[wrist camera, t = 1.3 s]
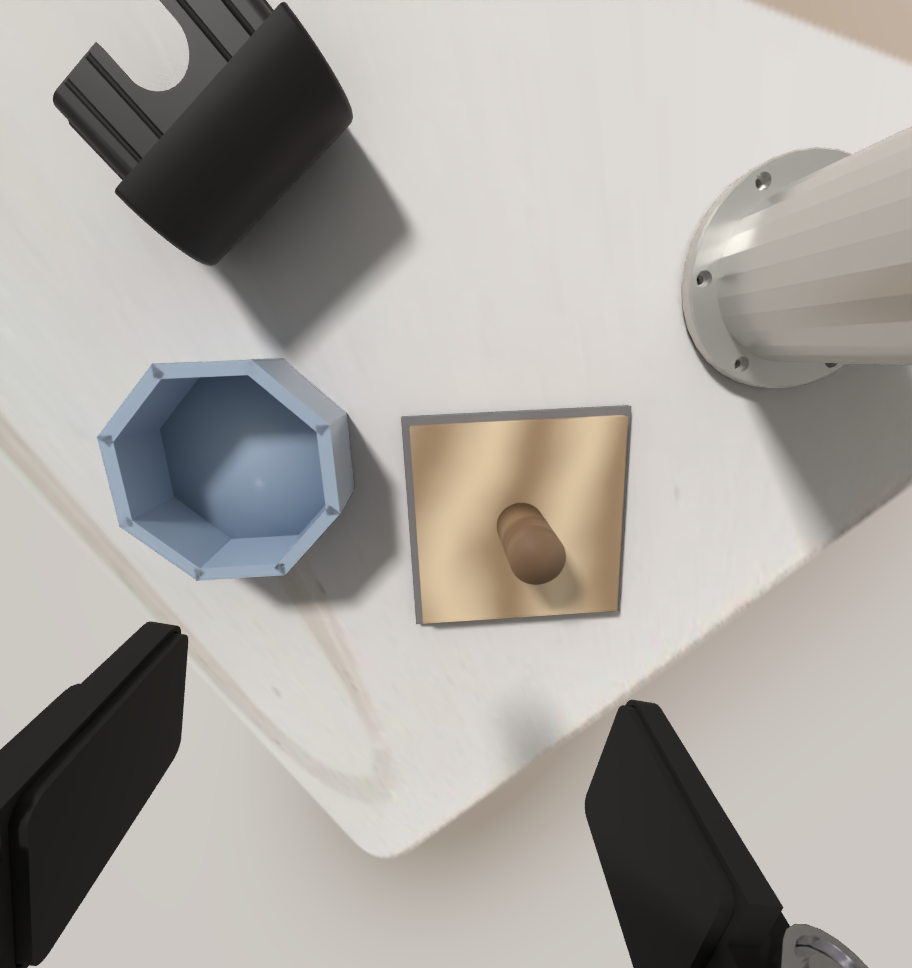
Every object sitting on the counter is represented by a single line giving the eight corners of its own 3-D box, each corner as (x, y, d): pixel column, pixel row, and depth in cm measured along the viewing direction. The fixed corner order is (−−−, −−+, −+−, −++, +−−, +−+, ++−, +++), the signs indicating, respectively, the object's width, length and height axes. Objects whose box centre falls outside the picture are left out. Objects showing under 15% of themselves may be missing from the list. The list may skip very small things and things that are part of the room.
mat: (627, 405, 29) (631, 406, 29) (616, 606, 33) (619, 610, 33) (401, 416, 29) (401, 417, 28) (416, 619, 33) (416, 624, 32)
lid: (622, 415, 29) (668, 429, 23) (612, 604, 32) (650, 656, 27) (410, 425, 28) (405, 443, 23) (423, 617, 32) (421, 673, 26)
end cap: (235, 278, 26) (172, 254, 20) (131, 168, 25) (25, 102, 18) (365, 145, 25) (342, 73, 19) (264, 18, 23) (200, -111, 17)
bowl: (340, 355, 28) (322, 356, 23) (360, 537, 31) (347, 571, 26) (141, 364, 27) (79, 366, 22) (180, 548, 30) (133, 584, 26)
